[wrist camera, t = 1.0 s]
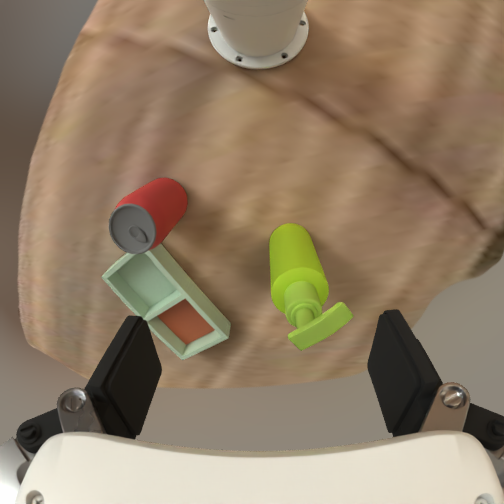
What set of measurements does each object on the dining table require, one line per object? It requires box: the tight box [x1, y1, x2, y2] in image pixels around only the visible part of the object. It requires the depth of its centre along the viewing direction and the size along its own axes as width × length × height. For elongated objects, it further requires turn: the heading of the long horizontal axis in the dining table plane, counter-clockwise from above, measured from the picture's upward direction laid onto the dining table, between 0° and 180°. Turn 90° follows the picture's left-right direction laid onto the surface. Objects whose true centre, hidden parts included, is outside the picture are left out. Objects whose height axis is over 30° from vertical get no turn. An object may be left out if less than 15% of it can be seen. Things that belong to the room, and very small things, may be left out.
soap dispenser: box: [269, 223, 353, 351], centre depth 32 cm, size 6×7×20 cm
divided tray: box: [102, 243, 231, 360], centre depth 44 cm, size 19×10×4 cm, turn 35°
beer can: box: [109, 178, 188, 254], centre depth 34 cm, size 7×7×12 cm
